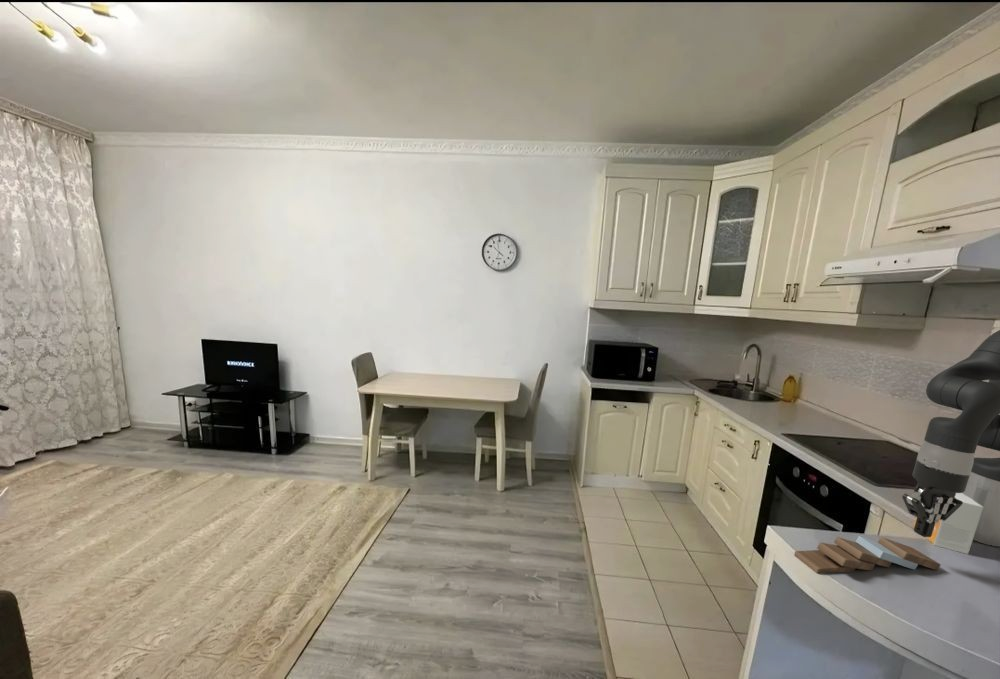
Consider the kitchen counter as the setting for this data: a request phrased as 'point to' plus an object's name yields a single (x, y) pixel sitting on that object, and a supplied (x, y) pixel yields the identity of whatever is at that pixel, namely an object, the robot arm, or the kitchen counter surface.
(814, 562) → the domino
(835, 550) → the domino
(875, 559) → the domino
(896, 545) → the domino
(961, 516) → the small box
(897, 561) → the domino
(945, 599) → the kitchen counter surface
